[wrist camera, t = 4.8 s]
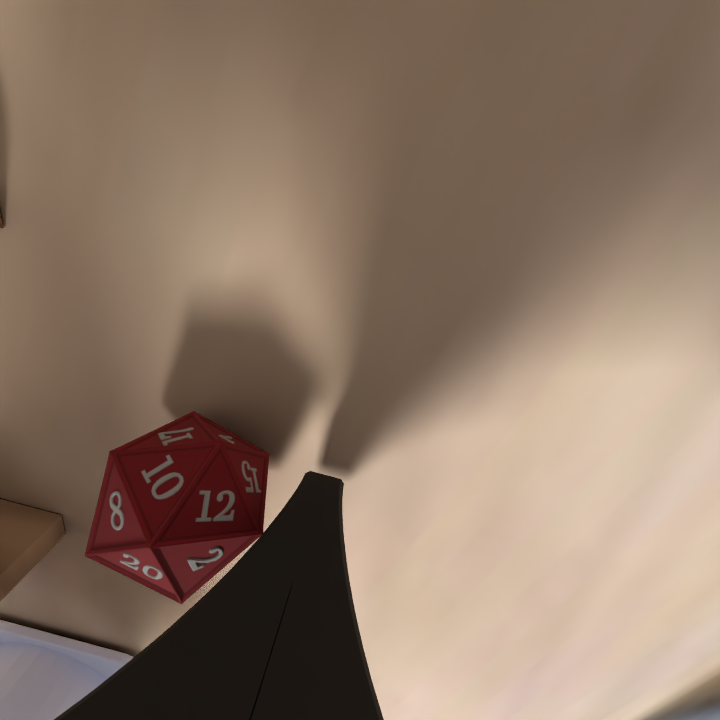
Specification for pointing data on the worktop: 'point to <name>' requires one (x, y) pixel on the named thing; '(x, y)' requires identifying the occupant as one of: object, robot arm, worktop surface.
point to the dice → (179, 505)
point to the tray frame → (24, 538)
